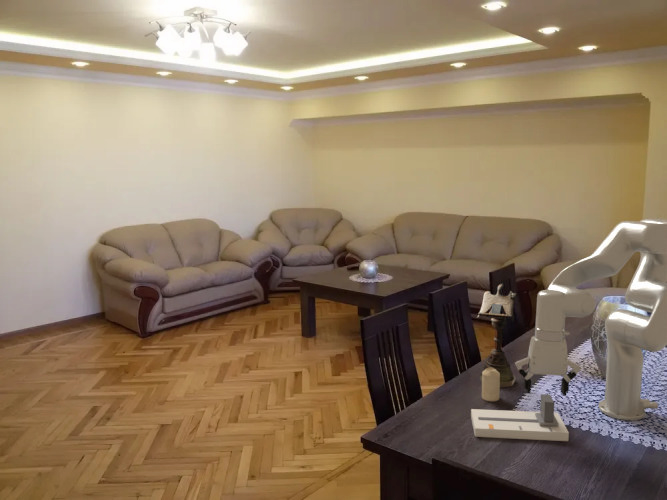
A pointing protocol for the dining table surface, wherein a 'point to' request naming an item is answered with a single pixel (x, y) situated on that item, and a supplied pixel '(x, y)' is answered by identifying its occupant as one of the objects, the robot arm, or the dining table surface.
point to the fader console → (515, 425)
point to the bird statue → (499, 332)
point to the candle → (490, 384)
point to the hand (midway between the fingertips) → (545, 392)
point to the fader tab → (546, 412)
